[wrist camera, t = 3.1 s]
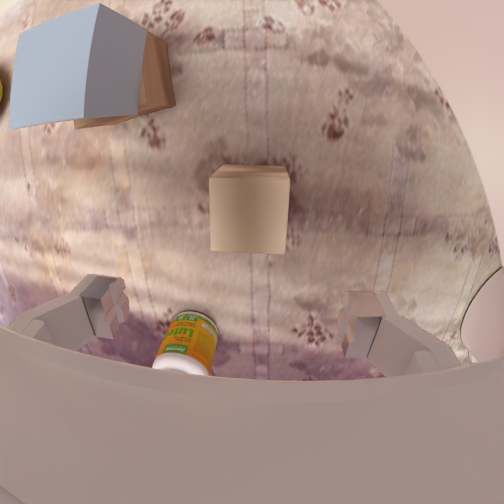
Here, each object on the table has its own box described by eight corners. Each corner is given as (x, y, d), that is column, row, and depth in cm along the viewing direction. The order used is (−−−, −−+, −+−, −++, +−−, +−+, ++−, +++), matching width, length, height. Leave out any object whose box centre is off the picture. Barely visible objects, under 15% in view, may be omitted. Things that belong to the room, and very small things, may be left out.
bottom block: (166, 43, 18) (136, 24, 13) (175, 105, 21) (146, 102, 15) (105, 65, 19) (66, 57, 13) (114, 124, 21) (75, 129, 16)
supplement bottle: (201, 302, 29) (176, 374, 20) (228, 338, 31) (215, 410, 22) (162, 318, 30) (131, 385, 21) (189, 351, 32) (169, 417, 23)
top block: (147, 30, 13) (99, 3, 8) (137, 115, 16) (83, 117, 10) (75, 44, 13) (19, 33, 8) (67, 120, 16) (9, 130, 10)
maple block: (284, 166, 22) (290, 180, 17) (281, 223, 25) (284, 254, 19) (223, 164, 23) (208, 178, 17) (223, 221, 25) (210, 251, 19)
